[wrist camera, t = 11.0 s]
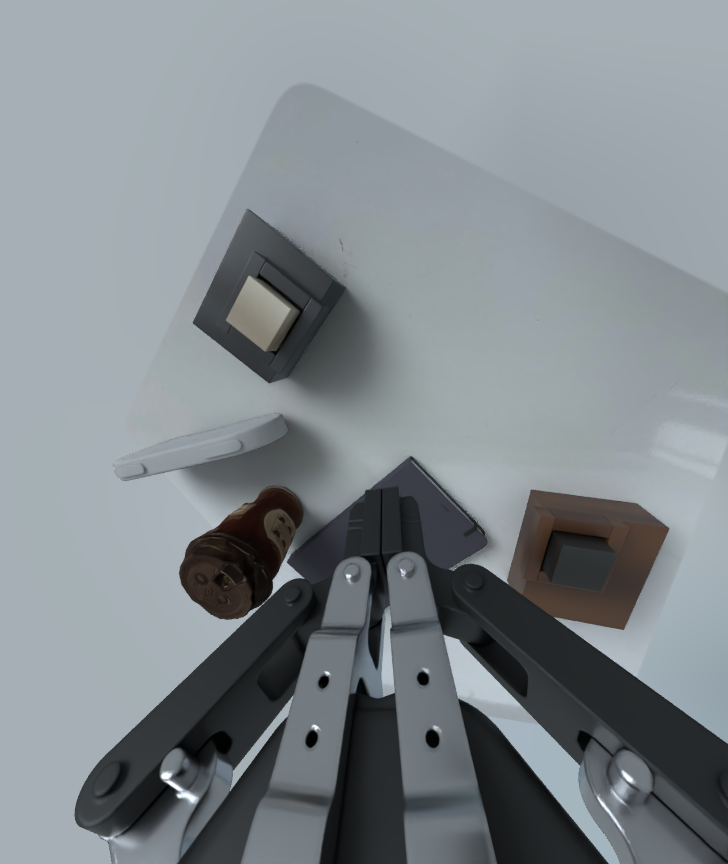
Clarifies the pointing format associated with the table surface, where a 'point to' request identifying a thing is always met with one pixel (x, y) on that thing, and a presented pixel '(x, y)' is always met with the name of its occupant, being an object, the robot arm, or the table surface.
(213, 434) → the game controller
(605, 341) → the table surface
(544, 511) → the key block
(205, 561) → the coffee cup
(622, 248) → the table surface
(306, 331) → the key block
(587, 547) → the ebony key
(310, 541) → the notebook
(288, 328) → the ivory key
